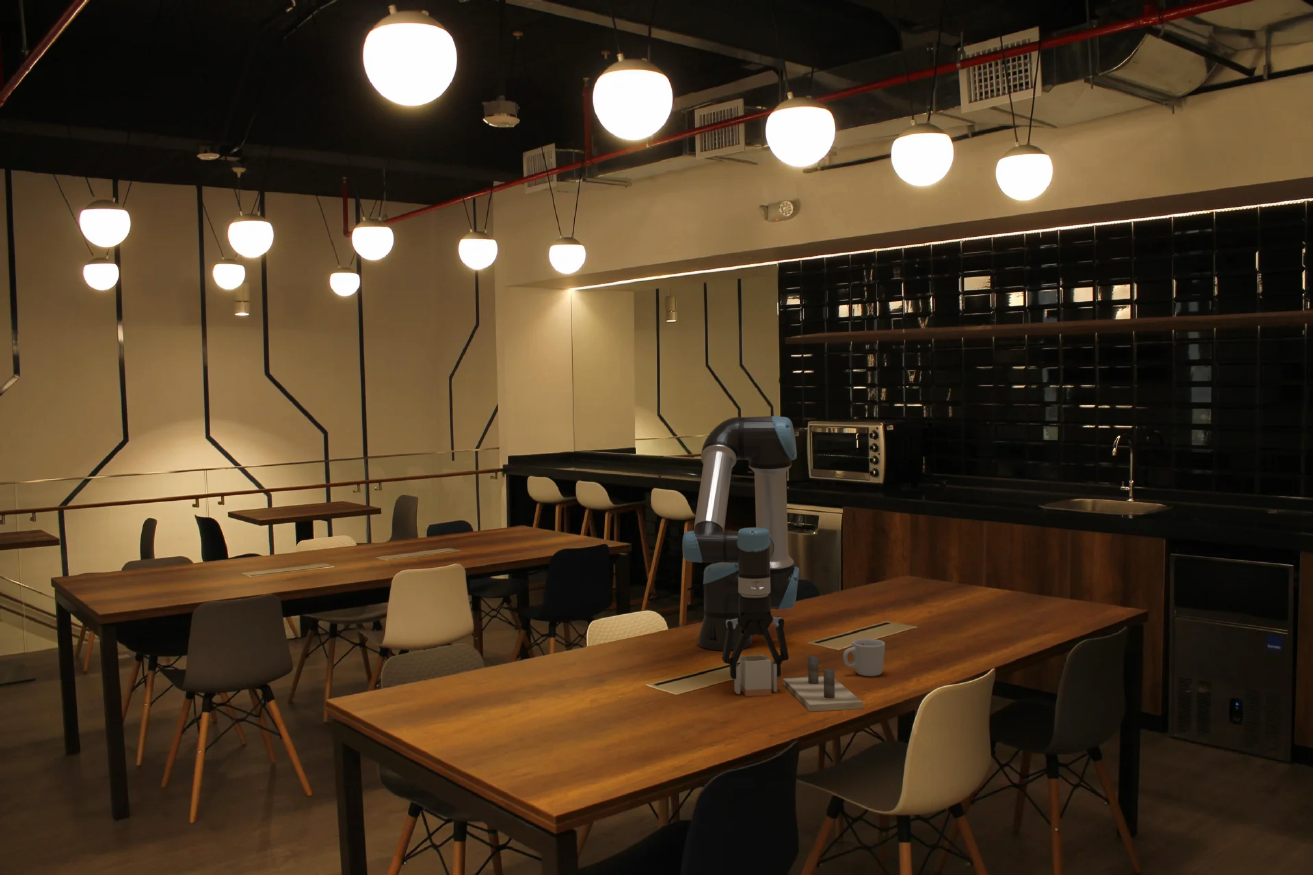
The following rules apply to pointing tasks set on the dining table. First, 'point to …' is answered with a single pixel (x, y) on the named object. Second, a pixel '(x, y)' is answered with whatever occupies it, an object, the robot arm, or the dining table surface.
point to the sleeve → (755, 675)
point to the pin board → (821, 690)
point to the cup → (866, 656)
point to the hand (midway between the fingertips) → (755, 691)
